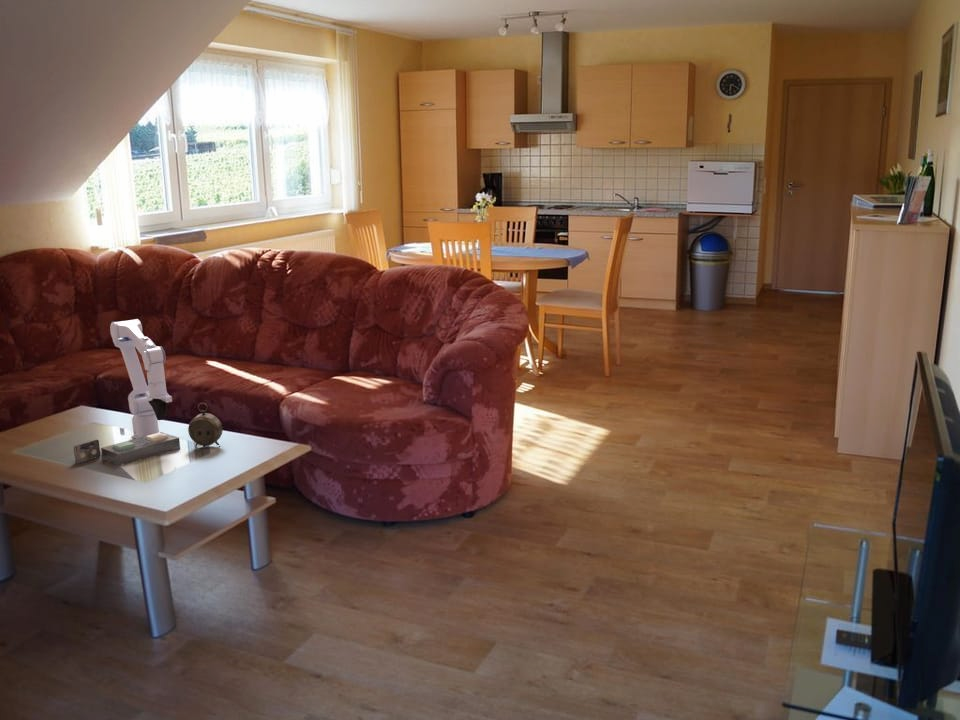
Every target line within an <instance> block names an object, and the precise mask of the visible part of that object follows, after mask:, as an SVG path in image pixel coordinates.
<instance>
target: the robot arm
mask: <svg viewBox="0 0 960 720" xmlns="http://www.w3.org/2000/svg"><path fill="white" fill-rule="evenodd" d="M109 325H110V327H109V328H110V329H109V331H110V337H111V338H112V342H113V345H114V347H117V348H119V349H120V352H121V355H122V358H123V361H124V364H125V367H126V370H127V374H128V377H129V380H130V382H131V386H132V389H133V390H132V391H131V392H130V393H129V394H128V397H127V400H128V407H129V411H130V413H131V414H132V415H133V416H132V418H131V422H132V431H133V435H131V438H134V439H137V438H141V437H144V436H148V435H152V434H156V433H160V429H159V421H163V420H165V419H166V412H167V409H168V405H169V403H172V402H173V396H172V395H169V393H168V391H167V384H166V383H167V382H166V376H165V366H164V363H165V362H166V351H165V350H164V348H163V346H157V345H156V344H155V342H153V340H152V339H151V338H149V337H148V336H145V335H144V333H143V326H142V325H143V324H142V323H141V320H139V319H138V318H135V319H129V320H121V321H112V322H111V324H109ZM137 352H138V353H139V354H140V355H141V358H142V361H143V365H144V370H145V371H146V376H147V379H146V378H145V375H144V371H143V369H142V365H141V362H140V360H139V357H138V353H137Z"/></svg>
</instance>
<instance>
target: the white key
mask: <svg viewBox="0 0 960 720" xmlns="http://www.w3.org/2000/svg"><path fill="white" fill-rule="evenodd" d="M162 433H163V432H162ZM162 433H160V432H159V433H156V434H152V435H148V436H146V440H149V441H152V442H155V441H159V440H162V439H166V438H167V435H166V434H167V433H165V434H162Z"/></svg>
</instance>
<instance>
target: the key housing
mask: <svg viewBox="0 0 960 720" xmlns="http://www.w3.org/2000/svg"><path fill="white" fill-rule="evenodd" d="M159 433H162V434H166V435H167V438H166V439H162V440H159V441H155V442H152V441H149V440H146V436H144V437H141V438H137V439H136V438H134V439H130V440H127V441H128V442H131V443H134V446H135V447H133V448H129V449H125V450H122V451H118V450H115V449H113V444H111V445H107V446H104V447H100V453H101V458H102V460H104V461H106V462H109V463H111V464H114V465H117V466H119V467H121V466H124V465H127V464H132V463H135V462H138V461H141V460H145V459H148V458H149V459H150V458H152V457H157V456H159V455H163V454H166V453H171V452H173V451H174V452H175V451H177V450H180V449H181V445H180V444H181V441H180V437H178V436H175V435H172V434H169V433H165V432H162V431H161V432H160V431H159Z"/></svg>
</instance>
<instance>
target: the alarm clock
mask: <svg viewBox="0 0 960 720" xmlns="http://www.w3.org/2000/svg"><path fill="white" fill-rule="evenodd" d="M201 405H205V406H206V409H205V410H204V409H203V410H202V409H200V408H199V407H200V406H201ZM197 410H198V411H200V412H201V413H199V414H197V415H196V416H195V417H194V418H193V419H191V421H190V422H189V424H188V428H187V429H188V430H187V431H188V435H189V438H190V439H191V440H192V441H193V443H195V445H194V447H195V448H196V447H197V446H198V445H199V446H202V449H203V450H206V447H208V446H212V445H213V444H216V445H217V446H218V445H220V443H219V442H218V440H219V439H220V438H221V437H222V435H223V424H222V422H221V421H220V419H219V418H218V416H216V415H214V414H212V413H209V412H206V411H207V410H208V405H207V403H205V402H200V403H198V405H197Z"/></svg>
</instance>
